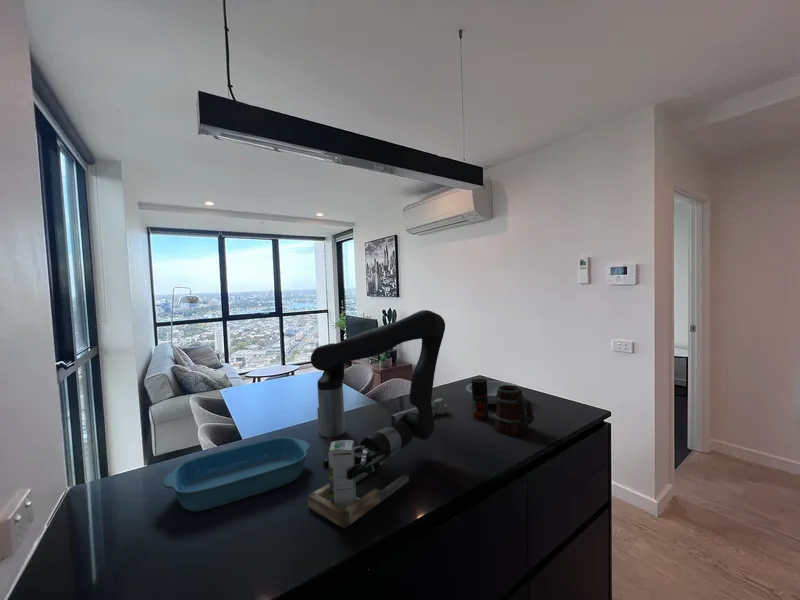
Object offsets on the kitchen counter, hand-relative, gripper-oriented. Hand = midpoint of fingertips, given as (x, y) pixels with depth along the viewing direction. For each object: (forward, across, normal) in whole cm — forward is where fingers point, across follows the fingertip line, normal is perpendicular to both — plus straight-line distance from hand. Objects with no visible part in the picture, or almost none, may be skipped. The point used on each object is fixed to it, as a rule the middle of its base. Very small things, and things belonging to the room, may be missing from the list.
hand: (335, 470), depth 82 cm
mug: (-67, +18, +10) cm, 70 cm away
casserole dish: (+7, -31, +10) cm, 34 cm away
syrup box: (-2, 0, +9) cm, 10 cm away
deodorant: (-72, +2, +10) cm, 73 cm away
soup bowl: (-93, -2, +10) cm, 93 cm away
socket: (-2, 0, +9) cm, 10 cm away
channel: (-14, 0, +9) cm, 17 cm away
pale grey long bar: (-60, -19, +10) cm, 63 cm away
